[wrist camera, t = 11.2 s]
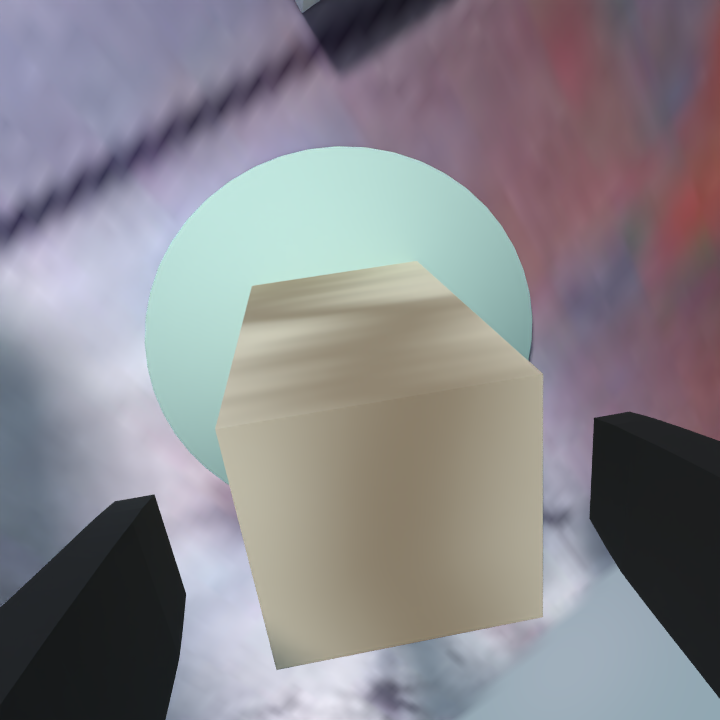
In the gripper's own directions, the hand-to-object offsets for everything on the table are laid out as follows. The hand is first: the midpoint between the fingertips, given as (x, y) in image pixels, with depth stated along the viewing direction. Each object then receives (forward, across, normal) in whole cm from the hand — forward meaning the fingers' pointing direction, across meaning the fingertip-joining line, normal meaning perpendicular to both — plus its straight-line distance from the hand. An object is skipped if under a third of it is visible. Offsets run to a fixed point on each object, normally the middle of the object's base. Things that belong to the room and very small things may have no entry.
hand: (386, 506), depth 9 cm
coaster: (+8, 0, 0) cm, 8 cm away
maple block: (+7, 0, 0) cm, 7 cm away
